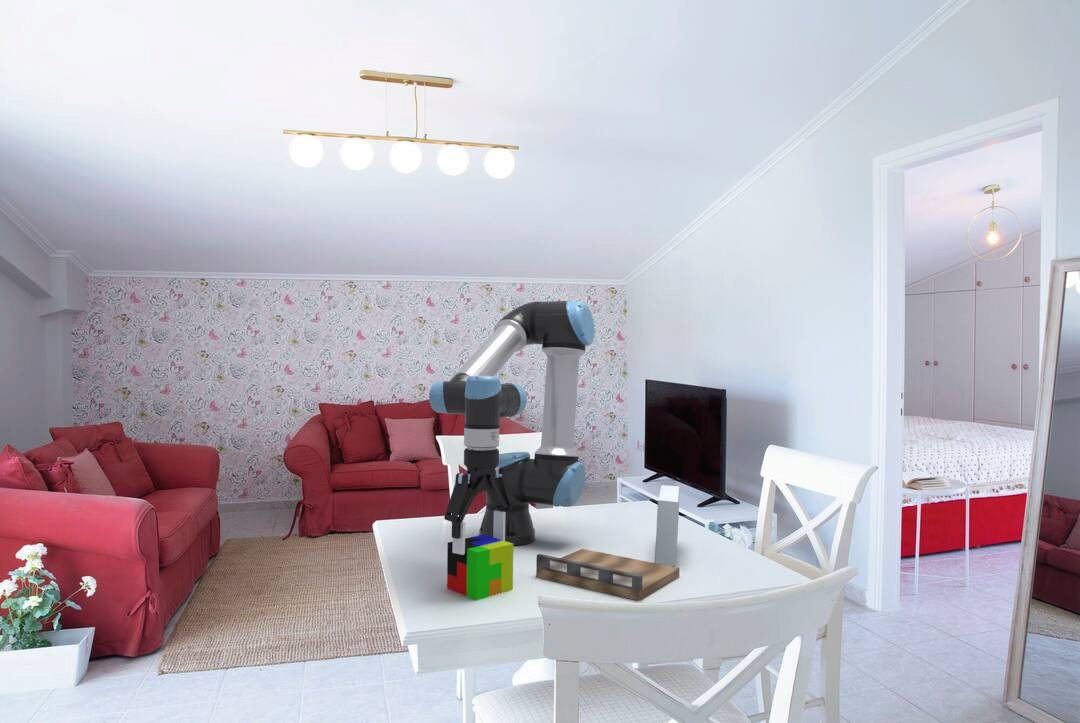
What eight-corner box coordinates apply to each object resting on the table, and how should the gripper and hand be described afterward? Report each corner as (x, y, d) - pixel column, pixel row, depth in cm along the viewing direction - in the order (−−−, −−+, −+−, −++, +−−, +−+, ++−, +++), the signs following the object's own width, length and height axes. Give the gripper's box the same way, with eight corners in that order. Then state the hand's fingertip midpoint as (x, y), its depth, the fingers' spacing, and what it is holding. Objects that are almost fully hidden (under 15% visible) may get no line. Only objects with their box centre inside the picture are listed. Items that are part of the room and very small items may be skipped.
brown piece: (535, 577, 167) (536, 555, 166) (582, 556, 183) (582, 536, 183) (639, 601, 152) (639, 577, 152) (679, 576, 168) (679, 554, 168)
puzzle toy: (482, 578, 165) (483, 534, 165) (512, 589, 158) (513, 543, 158) (446, 588, 158) (447, 542, 158) (476, 600, 151) (477, 552, 151)
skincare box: (677, 567, 176) (678, 501, 175) (654, 565, 177) (655, 500, 176) (678, 544, 196) (679, 485, 196) (657, 543, 197) (659, 484, 197)
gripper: (456, 455, 145) (454, 562, 145) (529, 444, 165) (527, 538, 166) (428, 451, 149) (426, 556, 149) (503, 441, 170) (501, 533, 170)
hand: (479, 547), depth 157 cm, fingers open, 13 cm apart
